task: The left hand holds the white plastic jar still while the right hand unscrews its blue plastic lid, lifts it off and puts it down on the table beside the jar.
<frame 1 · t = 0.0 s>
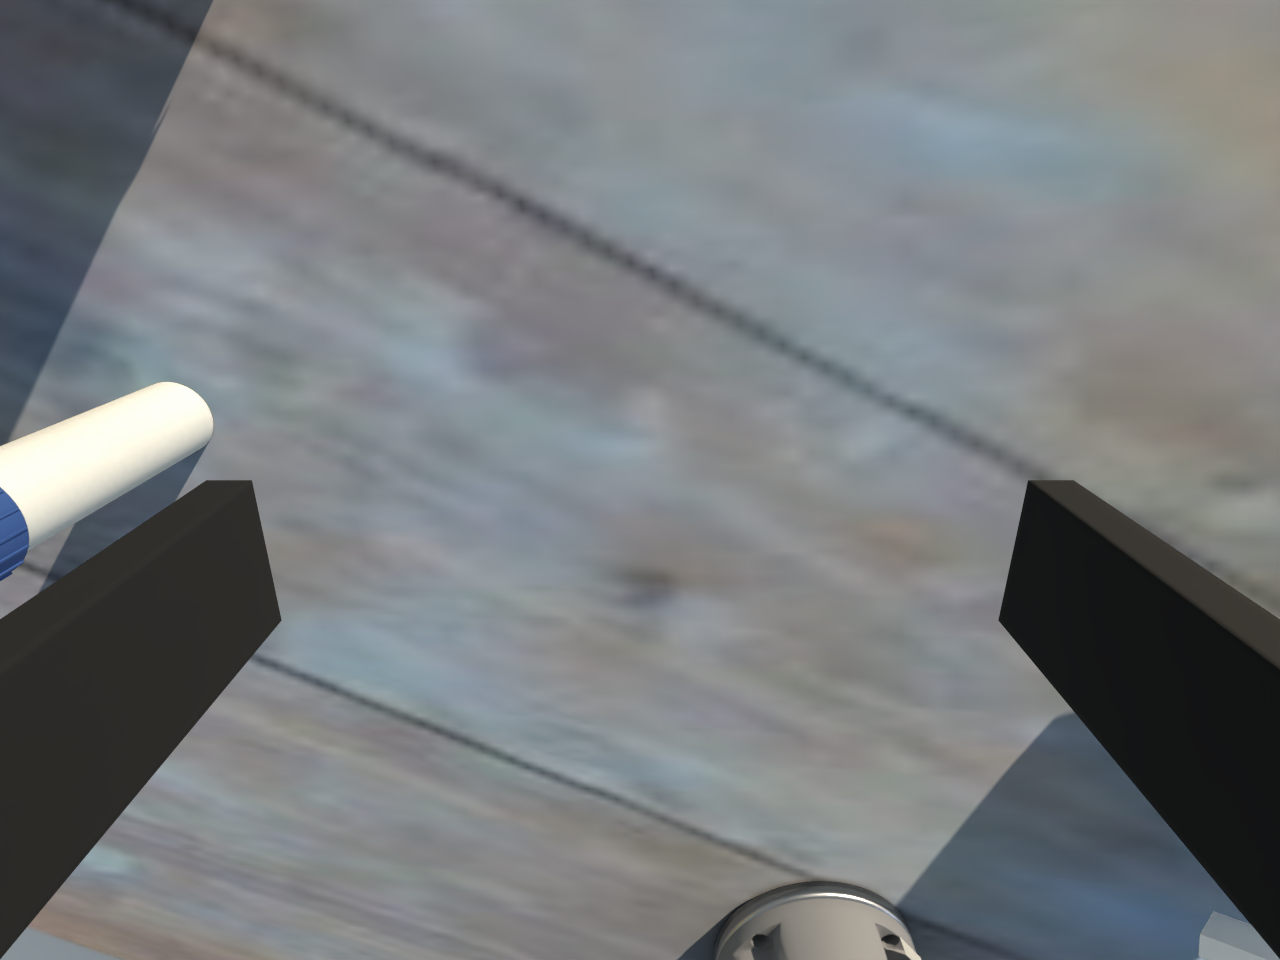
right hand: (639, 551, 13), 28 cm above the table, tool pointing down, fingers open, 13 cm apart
jar: (176, 417, 41), on the table
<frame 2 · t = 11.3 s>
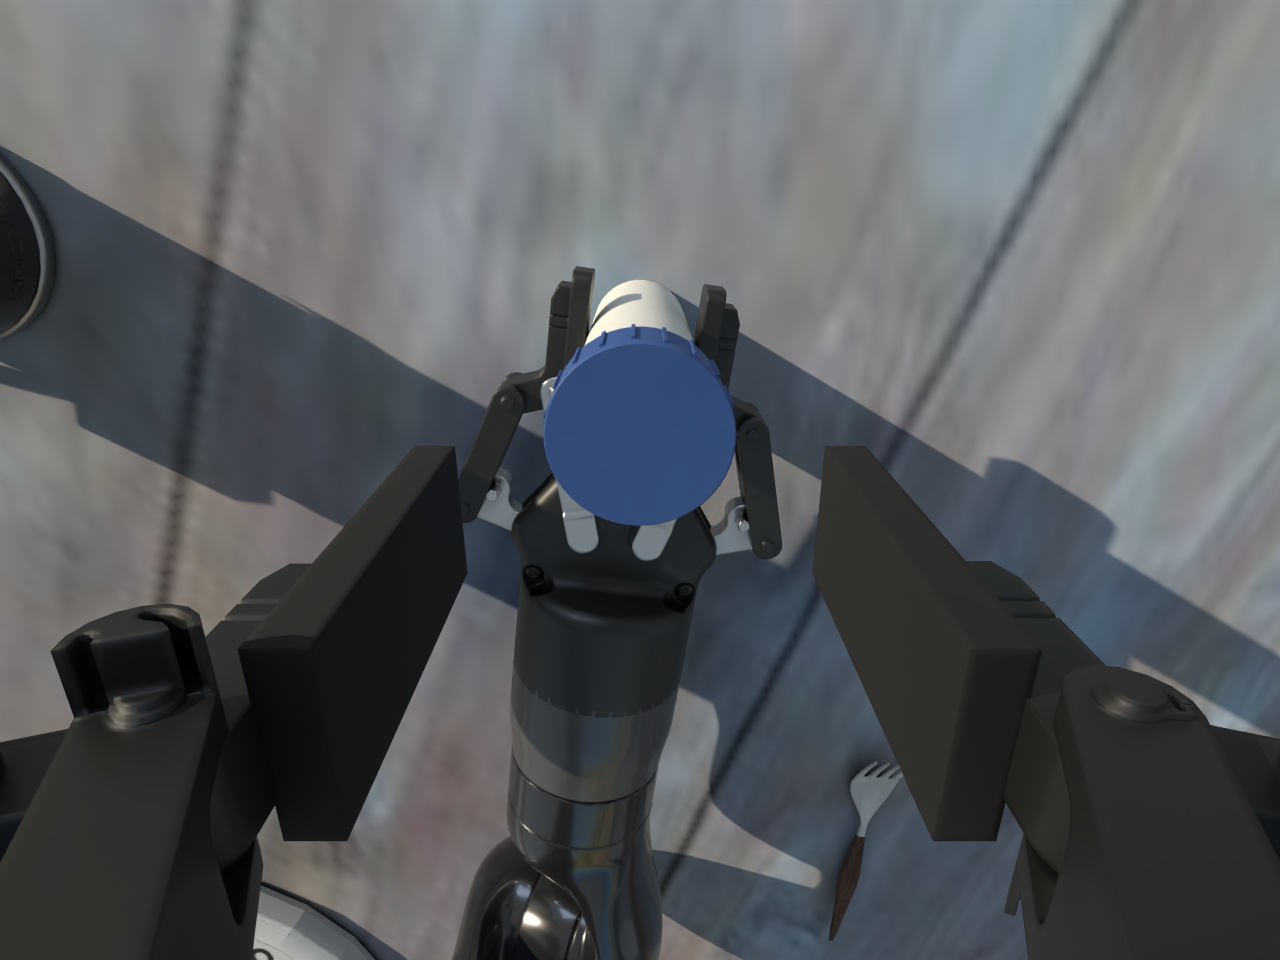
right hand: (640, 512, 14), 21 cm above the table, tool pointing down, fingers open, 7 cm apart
left hand: (648, 280, 27), fingers closed on jar, 4 cm apart
fork: (853, 839, 45), on the table
lid: (639, 434, 19), point 16 cm above the table, screwed on, not yet turned
jar: (639, 326, 33), on the table, touching left hand
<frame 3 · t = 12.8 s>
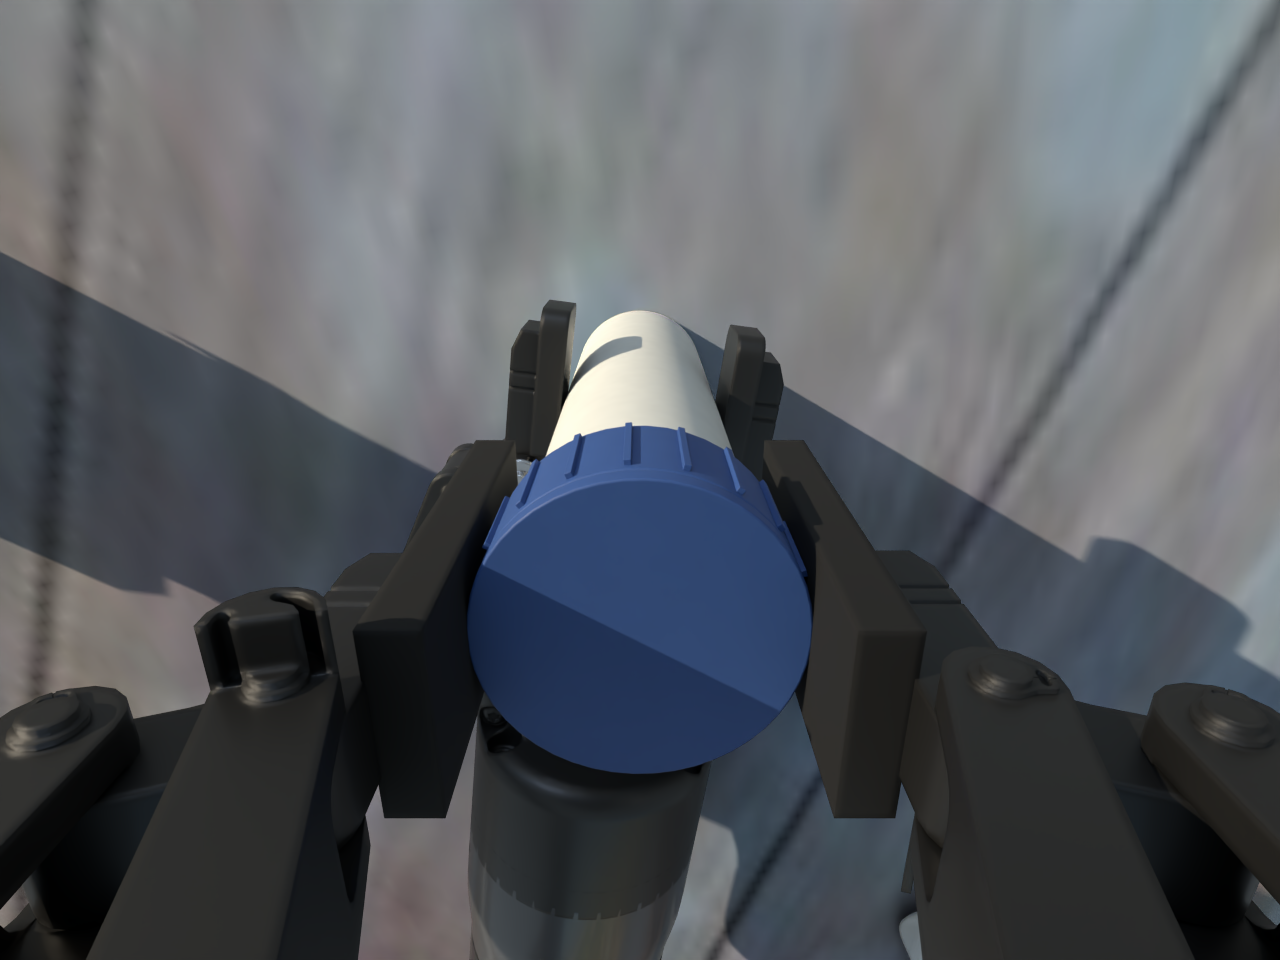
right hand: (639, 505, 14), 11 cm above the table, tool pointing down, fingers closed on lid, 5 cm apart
lid: (639, 625, 10), point 16 cm above the table, screwed on, not yet turned, touching right hand
jar: (639, 371, 25), on the table, touching left hand
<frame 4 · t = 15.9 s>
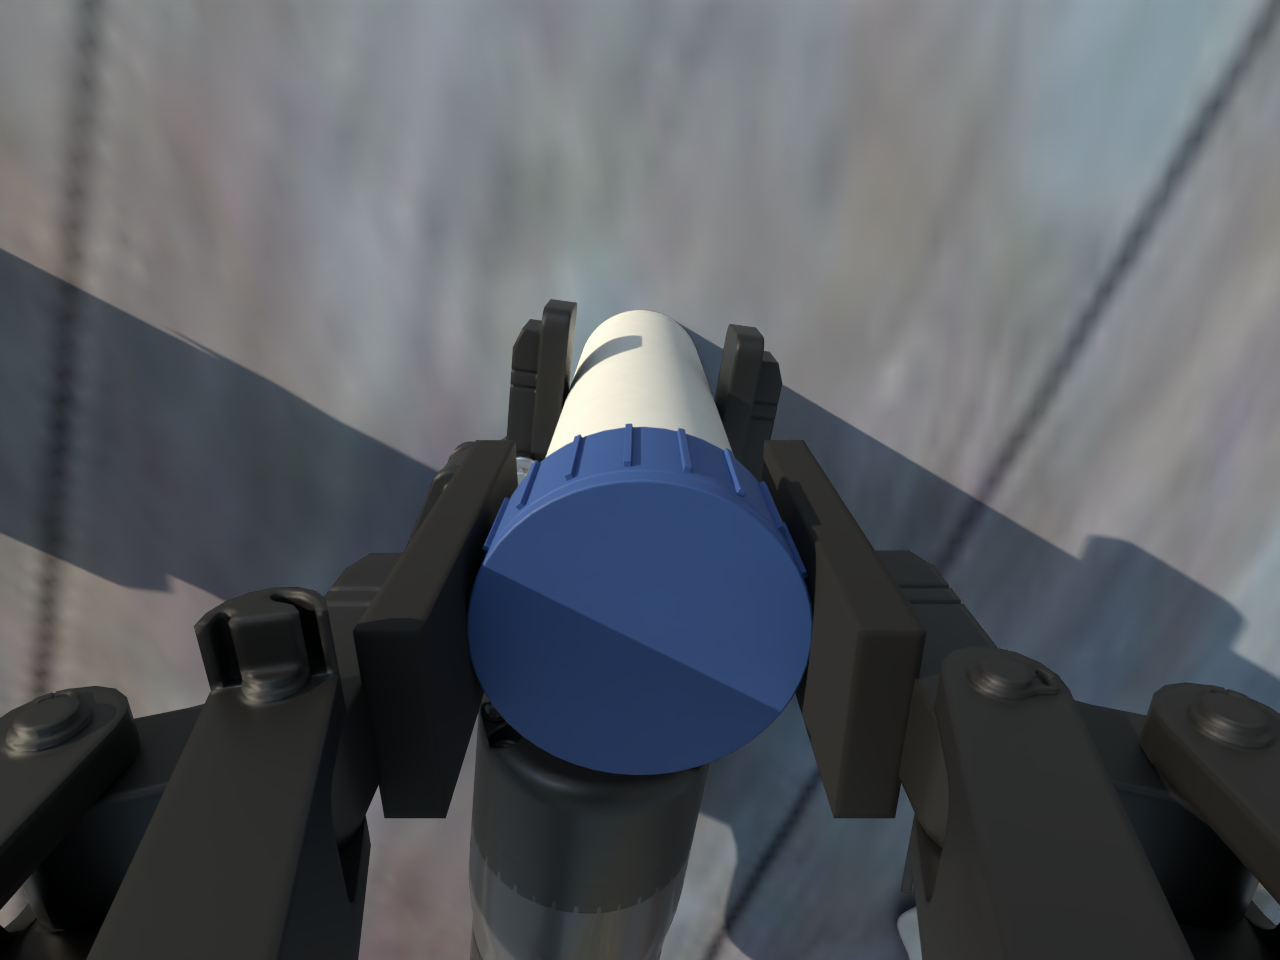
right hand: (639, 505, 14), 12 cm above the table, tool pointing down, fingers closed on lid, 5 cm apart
lid: (639, 627, 10), point 16 cm above the table, turned 76° so far, risen 0.2 cm, still on its thread, touching right hand
jar: (639, 370, 25), on the table, touching left hand
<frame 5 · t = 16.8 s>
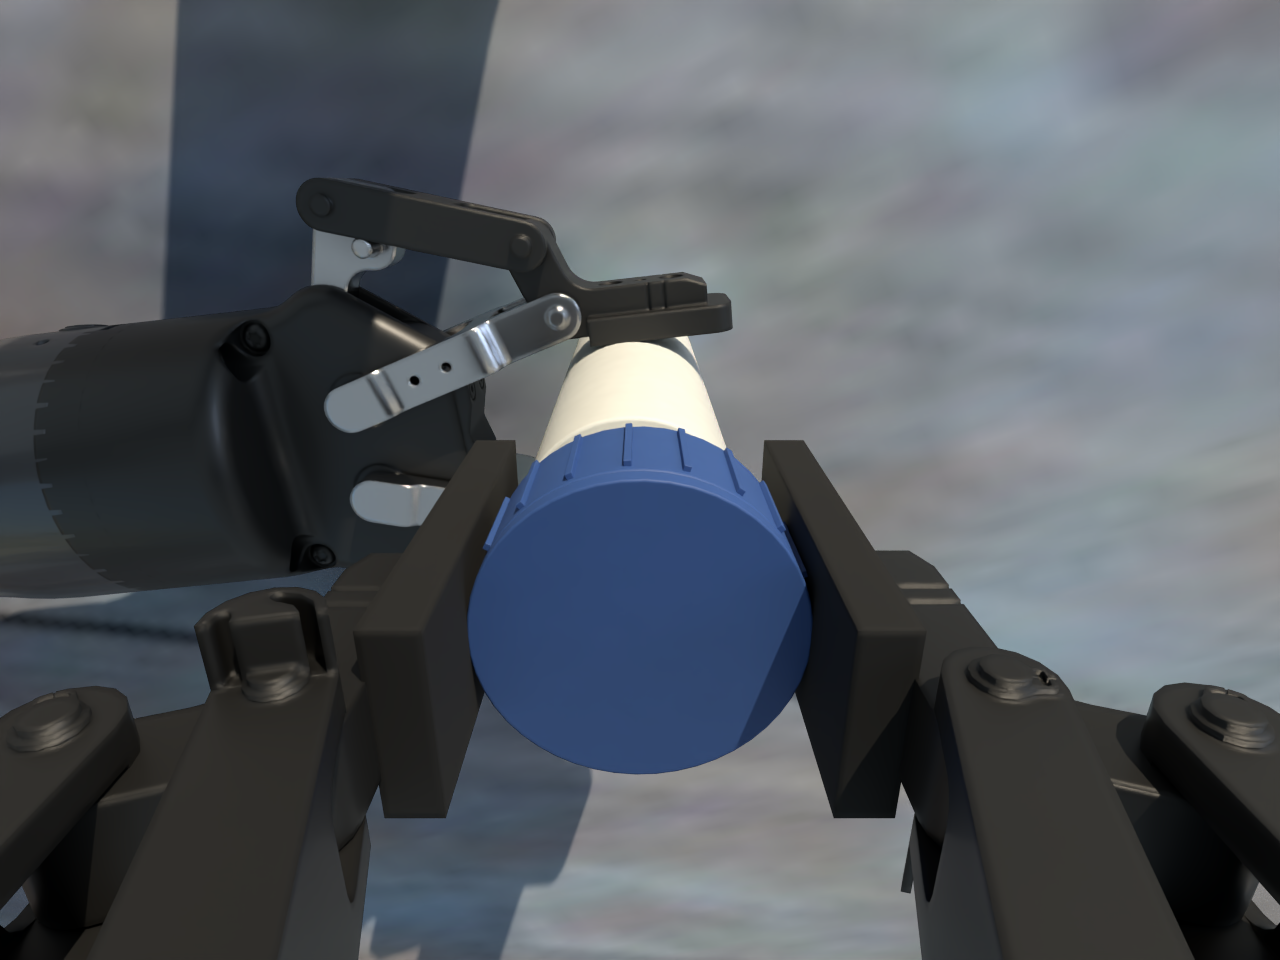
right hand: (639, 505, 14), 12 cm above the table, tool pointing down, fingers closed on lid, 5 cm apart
left hand: (730, 396, 20), fingers closed on jar, 4 cm apart
lid: (639, 626, 11), point 17 cm above the table, off its thread, touching right hand
jar: (634, 360, 26), on the table, touching left hand
when the right hand's fingers open (0 cm above the table, at t = 22.2 s): lid drops 3 cm, point 2 cm above the table.
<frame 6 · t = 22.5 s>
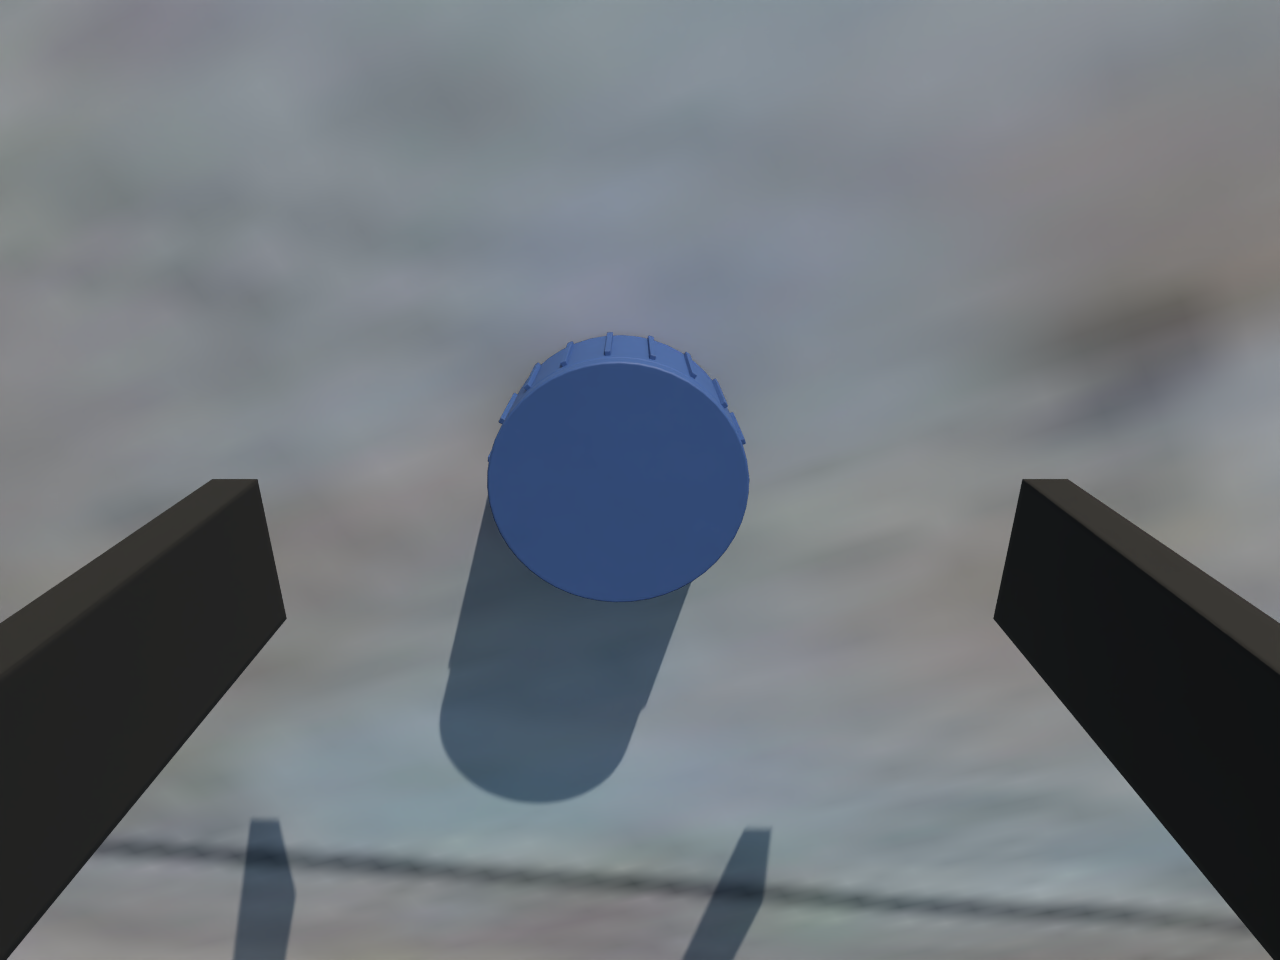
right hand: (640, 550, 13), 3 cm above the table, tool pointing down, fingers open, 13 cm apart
lid: (618, 483, 14), point 2 cm above the table, off its thread
when the left hand's fingers open (6 cm above the table, at t = 22.8 s): jar stays where it is, on the table.
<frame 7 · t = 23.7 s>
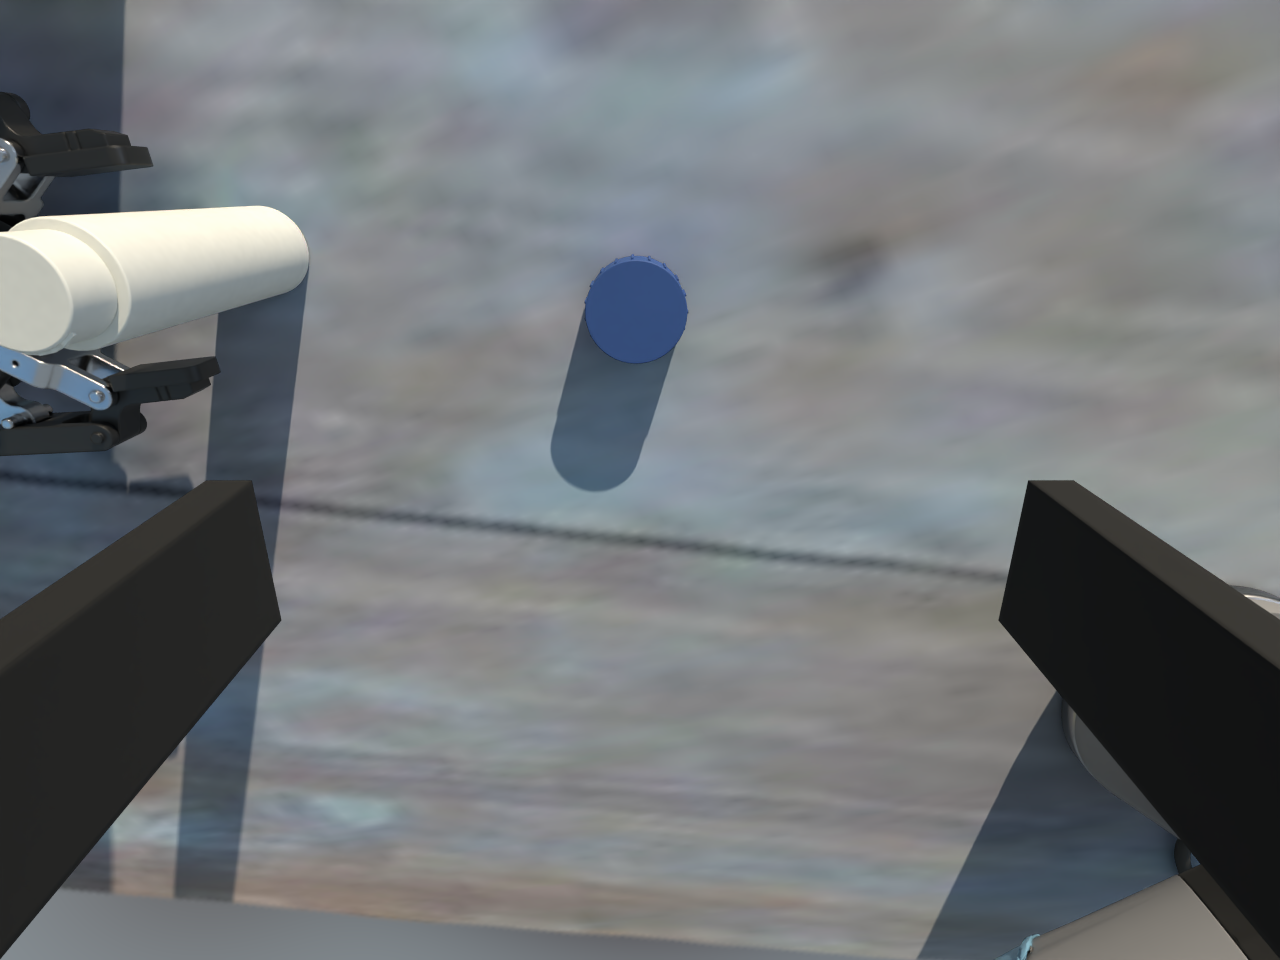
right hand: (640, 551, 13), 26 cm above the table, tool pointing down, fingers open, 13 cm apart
lid: (636, 312, 35), point 2 cm above the table, off its thread
jar: (266, 251, 36), on the table
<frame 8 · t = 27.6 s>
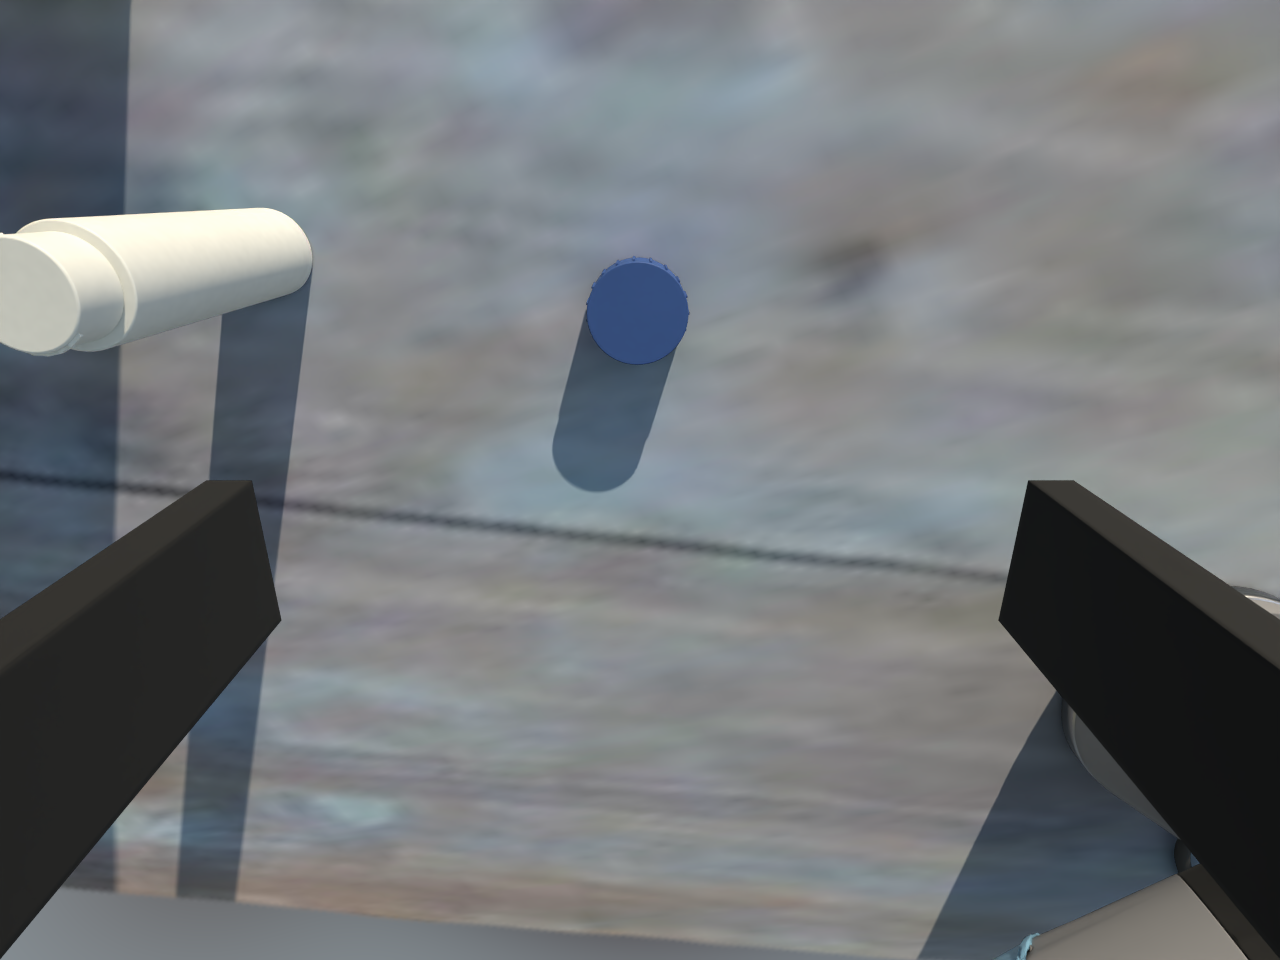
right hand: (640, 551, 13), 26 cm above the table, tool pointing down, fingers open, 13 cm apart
lid: (637, 313, 35), point 2 cm above the table, off its thread
jar: (270, 252, 36), on the table
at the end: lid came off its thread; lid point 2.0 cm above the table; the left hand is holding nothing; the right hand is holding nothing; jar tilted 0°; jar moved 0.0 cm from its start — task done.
